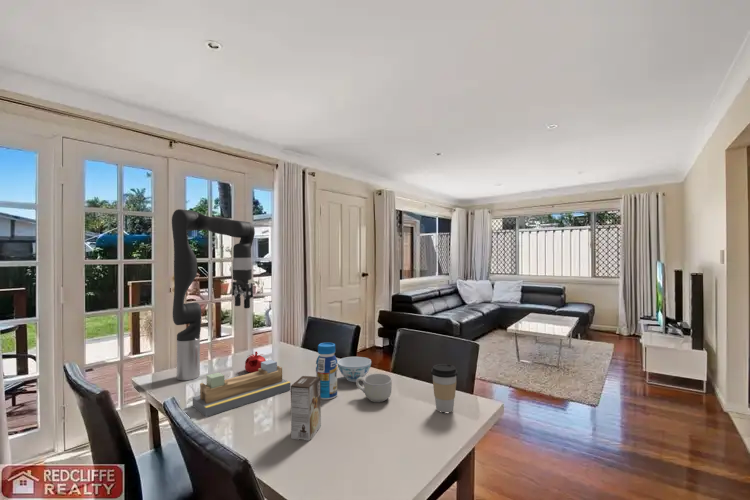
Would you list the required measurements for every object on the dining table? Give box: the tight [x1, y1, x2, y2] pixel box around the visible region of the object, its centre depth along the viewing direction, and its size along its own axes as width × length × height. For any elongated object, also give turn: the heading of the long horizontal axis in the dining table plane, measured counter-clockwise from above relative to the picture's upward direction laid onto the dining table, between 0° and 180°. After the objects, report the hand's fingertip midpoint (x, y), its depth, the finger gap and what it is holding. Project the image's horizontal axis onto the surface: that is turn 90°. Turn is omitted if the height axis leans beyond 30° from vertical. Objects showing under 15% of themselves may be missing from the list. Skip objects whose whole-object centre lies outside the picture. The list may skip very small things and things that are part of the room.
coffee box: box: [290, 375, 322, 441], centre depth 110 cm, size 9×6×16 cm
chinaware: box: [336, 356, 372, 383], centre depth 157 cm, size 15×15×8 cm
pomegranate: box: [244, 351, 267, 373], centre depth 169 cm, size 10×10×9 cm
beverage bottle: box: [315, 342, 339, 401], centre depth 139 cm, size 8×8×20 cm
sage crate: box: [206, 372, 225, 388], centre depth 130 cm, size 5×5×4 cm
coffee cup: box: [430, 363, 459, 413], centre depth 126 cm, size 9×9×15 cm
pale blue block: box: [261, 359, 278, 373], centre depth 145 cm, size 5×5×4 cm
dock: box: [192, 378, 291, 418], centre depth 138 cm, size 13×33×3 cm, turn 136°
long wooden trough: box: [199, 365, 283, 404], centre depth 138 cm, size 6×30×6 cm, turn 136°
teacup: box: [355, 373, 393, 403], centre depth 136 cm, size 14×11×8 cm
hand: (242, 307), depth 150 cm, fingers open, 8 cm apart
